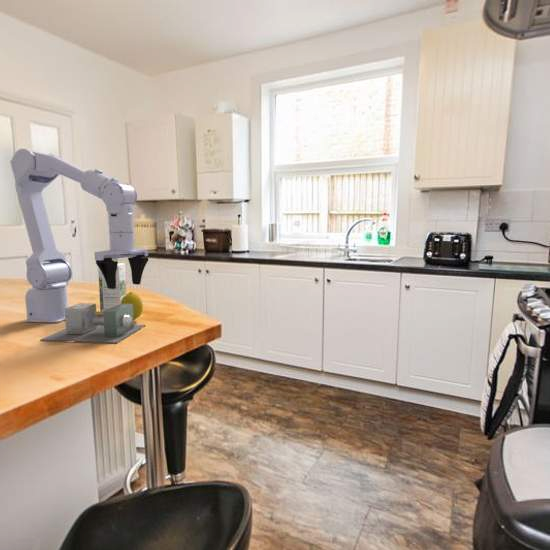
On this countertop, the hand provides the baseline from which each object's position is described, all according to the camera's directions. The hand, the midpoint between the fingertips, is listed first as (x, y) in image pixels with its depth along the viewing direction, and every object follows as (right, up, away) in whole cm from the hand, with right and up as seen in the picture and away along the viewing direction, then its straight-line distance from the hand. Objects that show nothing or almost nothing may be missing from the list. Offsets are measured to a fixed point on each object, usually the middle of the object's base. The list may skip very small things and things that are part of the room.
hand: (124, 286), depth 97 cm
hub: (-8, -11, -6) cm, 15 cm away
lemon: (0, -10, +4) cm, 11 cm away
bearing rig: (0, -11, -6) cm, 13 cm away
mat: (-4, -11, -6) cm, 13 cm away
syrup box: (-8, -8, +13) cm, 18 cm away
